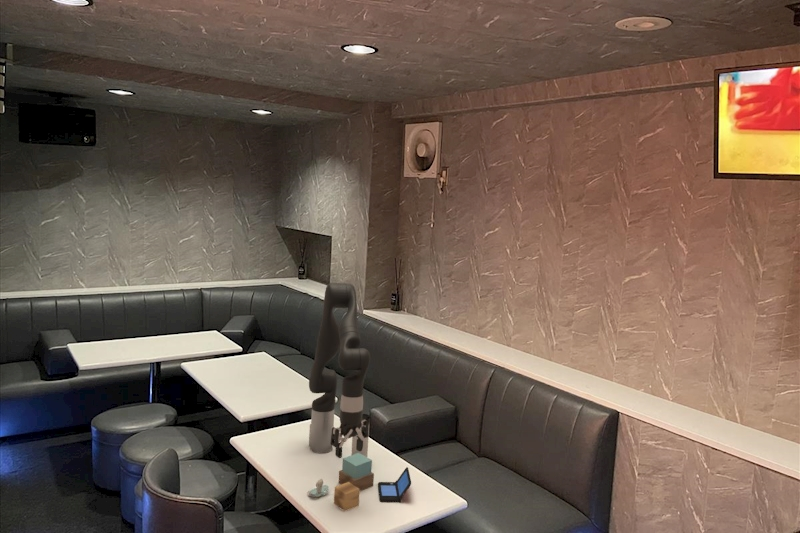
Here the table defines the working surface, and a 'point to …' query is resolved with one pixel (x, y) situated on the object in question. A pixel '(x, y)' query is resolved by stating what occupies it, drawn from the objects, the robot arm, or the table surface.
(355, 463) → the top block
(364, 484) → the bottom block
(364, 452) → the travel mug
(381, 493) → the handheld game console
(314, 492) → the pacifier
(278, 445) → the table surface
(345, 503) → the oak cube
